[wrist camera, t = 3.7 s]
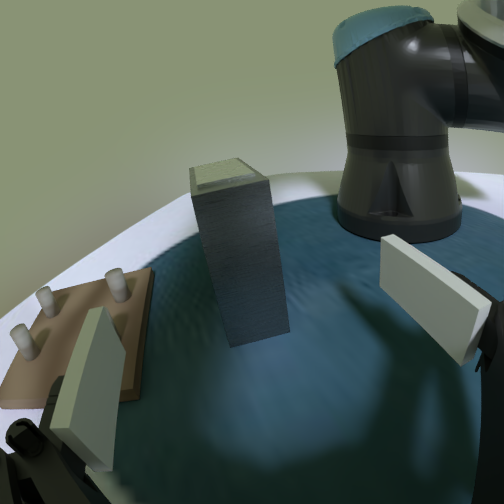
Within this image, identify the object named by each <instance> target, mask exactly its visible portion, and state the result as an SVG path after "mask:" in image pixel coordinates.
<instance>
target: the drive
mask: <svg viewBox="0 0 504 504" xmlns="http://www.w3.org/2000/svg"><path fill="white" fill-rule="evenodd" d="M189 171H190V188H191V198H192V203H193V207H194V211H195V215H196V220H197V224H198V228H199V232H200V236H201V240H202V244H203V248H204V252H205V256H206V260H207V264H208V268H209V272H210V276H211V280H212V284H213V287H214V291H215V295H216V299H217V302H218V306H219V310H220V313H221V317H222V321H223V324H224V328H225V331H226V335H227V338H228V342H229V345H230V348H231V347H235V346H240V345H244V344H247V343H251V342H255V341H259V340H263V339H267V338H270V337H274V336H278V335H281V334H285V333H288V332H290V327H289V320H288V312H287V304H286V296H285V289H284V281H283V274H282V266H281V259H280V252H279V245H278V238H277V231H276V224H275V217H274V211H273V204H272V197H271V191H270V184H269V179H267V178H266V177H265V176H263V175H262V174H260V173H259V172H258V171H256V170H254V169H253V168H252V167H251V166H249V165H248V164H246V163H245V162H243V161H242V160H240V159H239V158H234V159H229V160H225V161H220V162H215V163H210V164H206V165H201V166H197V167H192V168H189Z"/></svg>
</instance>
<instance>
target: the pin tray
mask: <svg viewBox="0 0 504 504" xmlns="http://www.w3.org/2000/svg"><path fill="white" fill-rule="evenodd" d="M153 280H154V274H153V271H152V268H151V267H149V268H145V269H141V270H137V271H133V272H129V273H124V274H123V271H122V269H121V268H115V269H112V270H110V271H108V272H107V273H106V274H105V278H104V279H100V280H96V281H92V282H88V283H84V284H80V285H76V286H72V287H68V288H64V289H60V290H56V291H53V292H52V291H51V289H50V287H49V286H45V287H43V288H41V289H39V290H38V291H37V292H36V294H35V295H36V297H37V299H38V301H39V303H40V305H41V307H42V309H41V311H40V313H39V314H38V316H37V318H36V319H35V321H34V323H33V325H32V326H31V328H30V330H29V331H28V329H27V327H26V325H25V324H19V325H17V326H15V327H14V328H13V329H12V330H11V331H10V336H11V337H12V339H13V341H14V342H15V344H16V346H17V347H18V349H19V350H18V352H17V354H16V356H15V358H14V359H13V361H12V363H11V365H10V367H9V369H8V372H7V374H6V376H5V378H4V380H3V382H2V384H1V386H0V407H1V408H2V409H41V408H45V406H46V401H47V398H49V396H48V395H49V392H50V389H51V386H52V384H53V383H54V382H55V380H56V379H57V378H58V376H62V375H65V374H66V370H67V367H68V364H69V362H70V359H71V356H72V353H73V350H74V347H75V345H76V342H77V339H78V336H79V334H80V331H81V328H82V326H83V323H84V321H85V318H86V316H87V313H88V311H89V309H93V308H97V307H102V306H104V308H105V310H106V313H107V315H108V317H109V319H110V321H111V323H112V325H113V327H114V329H115V331H116V333H117V335H118V337H119V339H120V341H121V343H122V345H123V347H124V349H125V351H126V356H125V362H124V368H123V375H122V382H121V389H120V396H119V402H124V401H131V400H138V399H140V386H141V375H142V364H143V355H144V346H145V337H146V329H147V321H148V313H149V306H150V299H151V293H152V286H153Z"/></svg>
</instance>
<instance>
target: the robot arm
mask: <svg viewBox="0 0 504 504" xmlns="http://www.w3.org/2000/svg"><path fill="white" fill-rule="evenodd" d="M457 15H458V25H446V24H435V23H434V19H433V17H432V16H431V15H430V13H429V12H428V11H427V10H425V9H423V8H419V7H411V6H388V7H381V8H376V9H372V10H367V11H364V12H361V13H358V14H356V15H353V16H351V17H349V18H348V19H346V20H344V21H343V22H341V23H340V24H339V25H338V26H337V27H336V29H335V30H334V33H333V46H334V54H335V63H334V66H335V69H337V74H338V79H339V86H340V92H341V99H342V106H343V113H344V121H345V129H346V138H347V148H348V154H347V159H346V164H345V168H344V173H343V177H342V181H341V185H340V190H339V194H338V198H337V210H338V220H339V222H340V224H341V225H342V226H343V227H344V228H346V229H347V230H349V231H351V232H353V233H355V234H357V235H360V236H363V237H367V238H370V239H375V240H380V241H381V261H380V287H381V288H382V289H383V290H384V291H385V292H386V293H387V294H388V295H390V296H391V297H392V298H393V299H394V300H395V301H396V302H397V303H398V304H399V305H400V306H401V307H402V308H403V309H404V310H405V311H406V312H407V313H408V314H409V315H410V316H411V317H412V318H413V319H414V320H415V321H416V322H417V323H418V324H419V325H420V326H421V327H422V328H423V329H425V330H426V331H427V332H428V333H429V334H430V336H431V337H432V338H433V339H434V340H435V341H436V342H437V343H438V344H439V345H440V346H441V347H442V348H443V349H444V350H445V351H446V352H447V353H448V354H449V355H450V356H451V357H452V358H453V359H454V360H455V361H456V362H457V363H458V364H459V365H460V366H462V365H464V364H466V363H467V362H469V361H470V360H472V359H473V358H474V355H475V353H476V350H477V347H478V348H479V349H480V350H481V351H482V353H481V356H480V359H479V361H478V364H477V366H476V369H475V372H477V371H478V369H479V367H480V366H481V431H480V445H479V456H478V465H477V473H476V480H475V486H474V492H473V498H472V503H471V504H504V301H501V302H499V301H498V300H496V299H495V298H494V297H492V296H491V295H490V294H488V293H487V292H486V291H484V290H483V289H481V288H480V287H479V286H478V287H477V285H476V284H475V283H473V282H471V281H470V280H469V279H468V278H466V277H465V276H463V275H461V274H459V273H456V272H453V271H451V272H450V271H448V270H447V269H445V268H444V267H443V266H441V265H440V264H438V263H437V262H435V261H434V260H432V259H431V258H429V257H428V256H426V255H425V254H423V253H422V252H420V251H419V250H417V249H416V248H414V247H413V246H411V245H410V244H408V243H419V242H428V241H434V240H438V239H442V238H445V237H447V236H450V235H452V234H453V233H455V232H456V231H457V230H458V229H459V228H460V225H461V217H462V202H461V198H460V196H459V195H458V194H457V187H456V181H455V176H454V172H453V168H452V164H451V160H450V157H449V148H448V128H449V127H454V128H468V129H477V130H486V131H494V132H502V133H504V0H464V1H463V2H461V3H460V4H459V5H458V7H457ZM125 356H126V351H125V349H124V347H123V345H122V343H121V341H120V339H119V337H118V335H117V333H116V331H115V329H114V327H113V325H112V323H111V321H110V319H109V317H108V315H107V313H106V310H105V308H104V306H102V307H97V308H93V309H89V311H88V313H87V316H86V318H85V321H84V323H83V326H82V328H81V331H80V334H79V336H78V339H77V342H76V345H75V347H74V350H73V353H72V356H71V359H70V362H69V364H68V367H67V370H66V374H65V375H62V376H58V378H57V379H56V380H55V382H54V383H53V384H52V386H51V389H50V392H49V395H48V396H49V398H47V401H46V406H45V408H44V411H43V414H42V418H41V421H40V425H39V428H38V427H37V426H36V425H35V424H34V423H33V422H32V421H31V420H30V419H27V418H21V419H18V420H16V421H15V422H13V423H12V424H11V425H10V427H9V428H8V430H7V432H6V437H5V439H6V443H7V444H8V445H9V446H10V447H11V448H12V449H13V450H14V451H15V452H14V453H11V454H7V453H6V452H5V451H4V450H3V449H2V448H0V504H111V503H110V502H109V500H108V499H107V498H106V497H105V496H104V494H103V493H102V492H101V491H100V489H99V488H98V487H97V486H96V484H95V483H94V482H93V481H92V479H91V478H90V477H89V476H88V475H87V474H86V473H85V466H86V465H87V466H89V467H90V468H91V469H92V470H93V471H94V472H98V471H113V456H114V443H115V432H116V422H117V413H118V404H119V396H120V389H121V382H122V375H123V368H124V362H125Z"/></svg>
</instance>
